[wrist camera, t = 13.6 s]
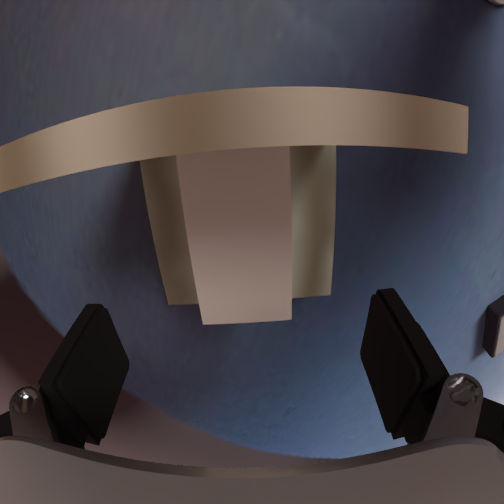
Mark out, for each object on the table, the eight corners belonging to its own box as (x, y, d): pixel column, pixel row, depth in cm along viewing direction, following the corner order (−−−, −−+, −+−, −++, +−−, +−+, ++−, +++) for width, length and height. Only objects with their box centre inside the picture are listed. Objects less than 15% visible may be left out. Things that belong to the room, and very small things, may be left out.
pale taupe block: (274, 126, 22) (288, 131, 15) (280, 275, 28) (291, 332, 20) (197, 132, 22) (174, 141, 15) (215, 279, 28) (205, 337, 21)
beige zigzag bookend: (322, 105, 25) (468, 106, 7) (321, 274, 32) (382, 436, 14) (149, 119, 25) (-10, 151, 7) (176, 283, 33) (124, 447, 15)
